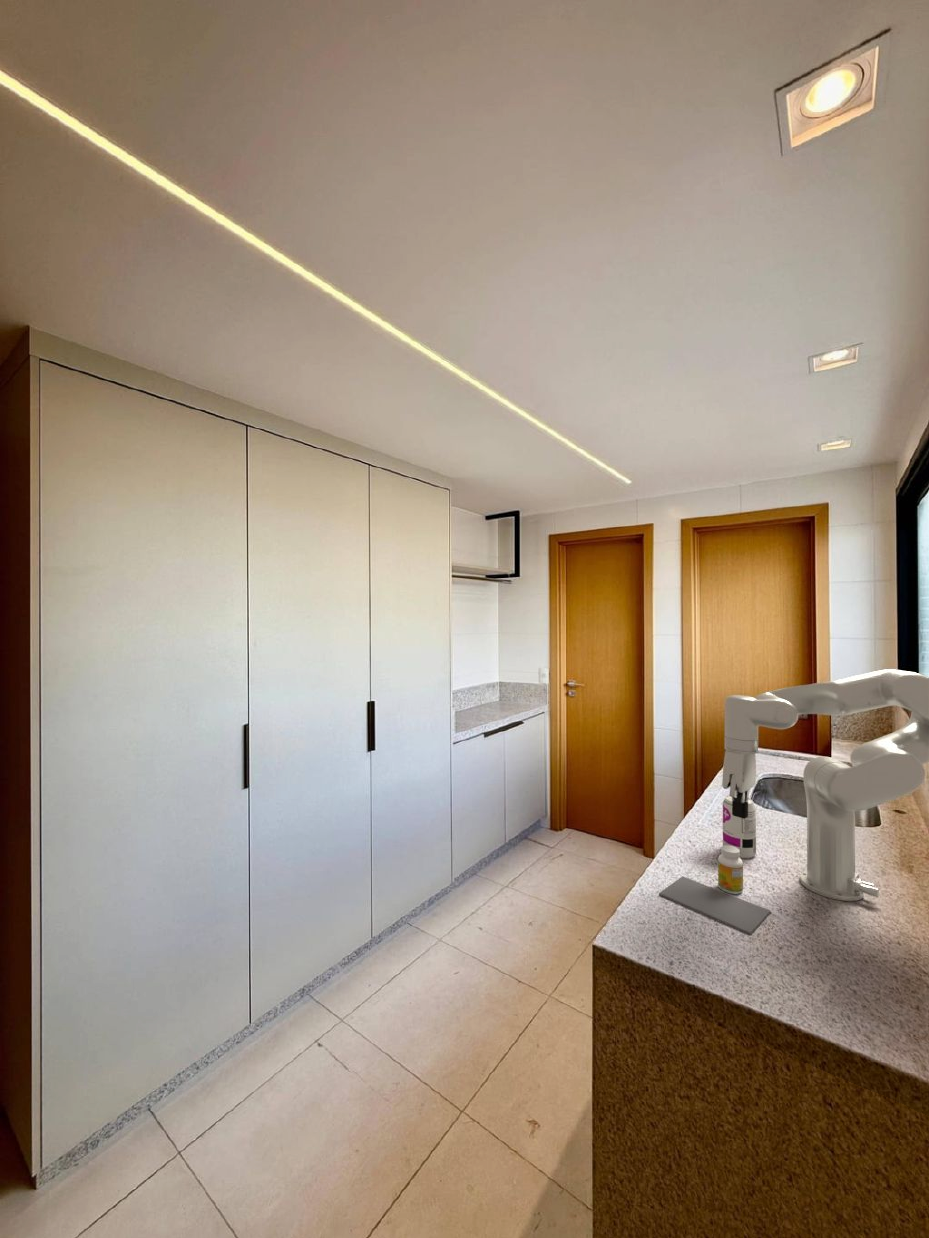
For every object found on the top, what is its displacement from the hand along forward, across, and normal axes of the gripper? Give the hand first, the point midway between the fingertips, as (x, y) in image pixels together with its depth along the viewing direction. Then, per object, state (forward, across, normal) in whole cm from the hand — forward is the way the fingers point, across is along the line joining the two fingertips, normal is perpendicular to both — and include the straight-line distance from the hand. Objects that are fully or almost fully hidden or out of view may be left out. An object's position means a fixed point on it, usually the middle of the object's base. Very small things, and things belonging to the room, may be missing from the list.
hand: (739, 816), depth 126 cm
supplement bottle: (+16, +7, +1) cm, 18 cm away
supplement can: (+16, -15, -5) cm, 22 cm away
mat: (+16, +17, +1) cm, 23 cm away
